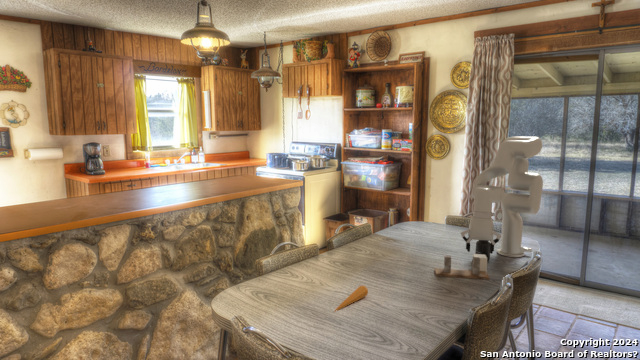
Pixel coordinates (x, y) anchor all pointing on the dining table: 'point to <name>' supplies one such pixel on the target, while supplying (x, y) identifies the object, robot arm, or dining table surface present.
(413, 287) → the dining table surface
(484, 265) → the cream rectangular block
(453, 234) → the dining table surface
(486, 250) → the supplement bottle
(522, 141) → the robot arm
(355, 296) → the carrot
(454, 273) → the post strip
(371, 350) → the dining table surface
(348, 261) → the dining table surface
